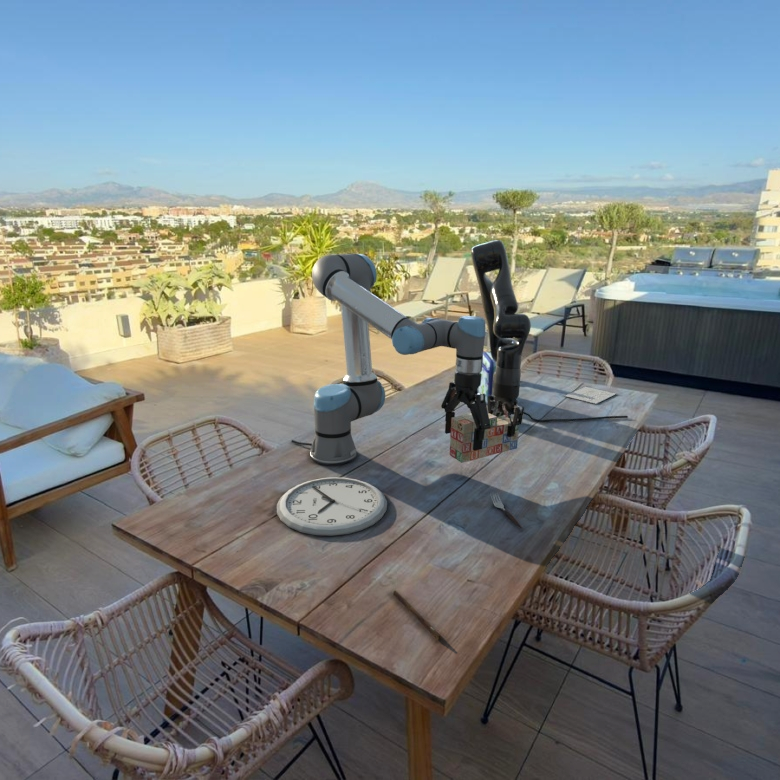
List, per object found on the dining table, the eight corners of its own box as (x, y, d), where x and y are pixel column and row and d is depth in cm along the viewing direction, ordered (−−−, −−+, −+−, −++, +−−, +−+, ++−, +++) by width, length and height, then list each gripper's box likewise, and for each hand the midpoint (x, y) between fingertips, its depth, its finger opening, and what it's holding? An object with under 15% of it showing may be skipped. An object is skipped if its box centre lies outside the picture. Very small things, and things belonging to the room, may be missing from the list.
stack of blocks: (503, 441, 167) (506, 405, 163) (517, 449, 162) (520, 411, 158) (449, 455, 157) (451, 416, 153) (461, 463, 152) (463, 423, 148)
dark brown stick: (392, 594, 108) (393, 590, 108) (394, 593, 109) (394, 589, 108) (438, 640, 96) (438, 636, 96) (440, 639, 97) (440, 635, 96)
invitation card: (585, 386, 254) (616, 393, 244) (585, 387, 254) (616, 394, 244) (564, 395, 239) (596, 403, 229) (564, 396, 239) (596, 404, 229)
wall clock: (392, 527, 129) (268, 531, 127) (391, 533, 130) (269, 537, 127) (383, 473, 158) (282, 475, 155) (383, 478, 158) (282, 480, 156)
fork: (516, 530, 132) (517, 523, 131) (489, 500, 147) (489, 493, 146) (526, 529, 133) (526, 522, 132) (497, 499, 147) (498, 492, 147)
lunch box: (475, 390, 246) (478, 346, 240) (498, 390, 246) (501, 347, 240) (484, 408, 221) (487, 360, 215) (509, 409, 221) (513, 360, 215)
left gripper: (432, 362, 156) (428, 428, 163) (486, 385, 136) (479, 459, 142) (452, 359, 160) (448, 424, 166) (508, 381, 139) (500, 454, 146)
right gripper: (481, 376, 160) (478, 426, 165) (514, 389, 148) (509, 443, 153) (500, 373, 164) (496, 422, 169) (533, 385, 152) (528, 438, 157)
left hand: (462, 440), depth 154 cm, fingers open, 13 cm apart
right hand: (502, 432), depth 161 cm, fingers closed on stack of blocks, 6 cm apart
